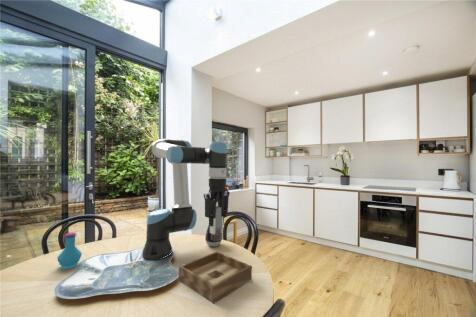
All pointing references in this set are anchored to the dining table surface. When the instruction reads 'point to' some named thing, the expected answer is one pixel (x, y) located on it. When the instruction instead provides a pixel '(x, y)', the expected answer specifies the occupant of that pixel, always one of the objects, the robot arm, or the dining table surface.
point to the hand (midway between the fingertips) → (216, 232)
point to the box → (212, 265)
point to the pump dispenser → (209, 238)
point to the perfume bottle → (69, 253)
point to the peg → (217, 224)
